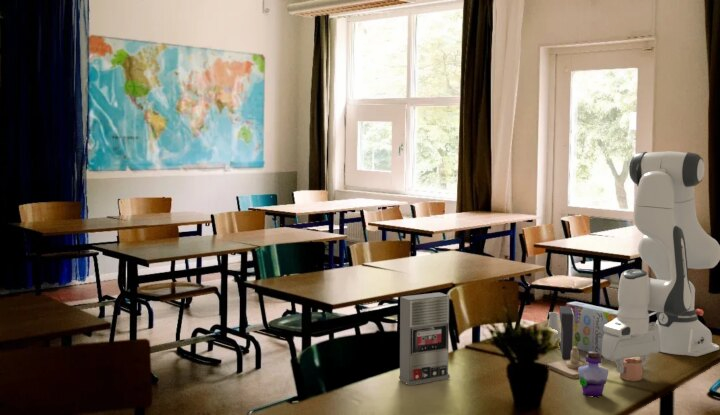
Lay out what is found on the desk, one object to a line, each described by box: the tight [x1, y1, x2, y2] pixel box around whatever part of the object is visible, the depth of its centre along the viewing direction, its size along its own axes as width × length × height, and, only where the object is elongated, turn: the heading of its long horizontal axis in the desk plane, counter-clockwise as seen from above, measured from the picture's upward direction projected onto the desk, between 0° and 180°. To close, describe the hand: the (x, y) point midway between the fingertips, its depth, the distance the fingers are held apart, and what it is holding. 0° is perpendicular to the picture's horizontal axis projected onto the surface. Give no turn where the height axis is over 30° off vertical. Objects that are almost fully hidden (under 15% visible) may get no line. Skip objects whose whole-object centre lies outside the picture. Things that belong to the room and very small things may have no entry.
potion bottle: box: [578, 351, 609, 398], centre depth 212 cm, size 9×9×12 cm
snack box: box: [565, 301, 618, 357], centre depth 254 cm, size 21×6×15 cm, turn 35°
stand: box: [545, 347, 588, 380], centre depth 234 cm, size 12×12×7 cm
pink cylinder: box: [619, 357, 643, 382], centre depth 227 cm, size 6×6×5 cm
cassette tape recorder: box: [398, 292, 451, 386], centre depth 223 cm, size 14×6×25 cm, turn 117°
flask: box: [547, 311, 561, 344], centre depth 266 cm, size 7×7×10 cm
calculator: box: [559, 305, 575, 360], centre depth 250 cm, size 11×4×15 cm, turn 168°
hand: (631, 370), depth 227 cm, fingers closed on pink cylinder, 6 cm apart
